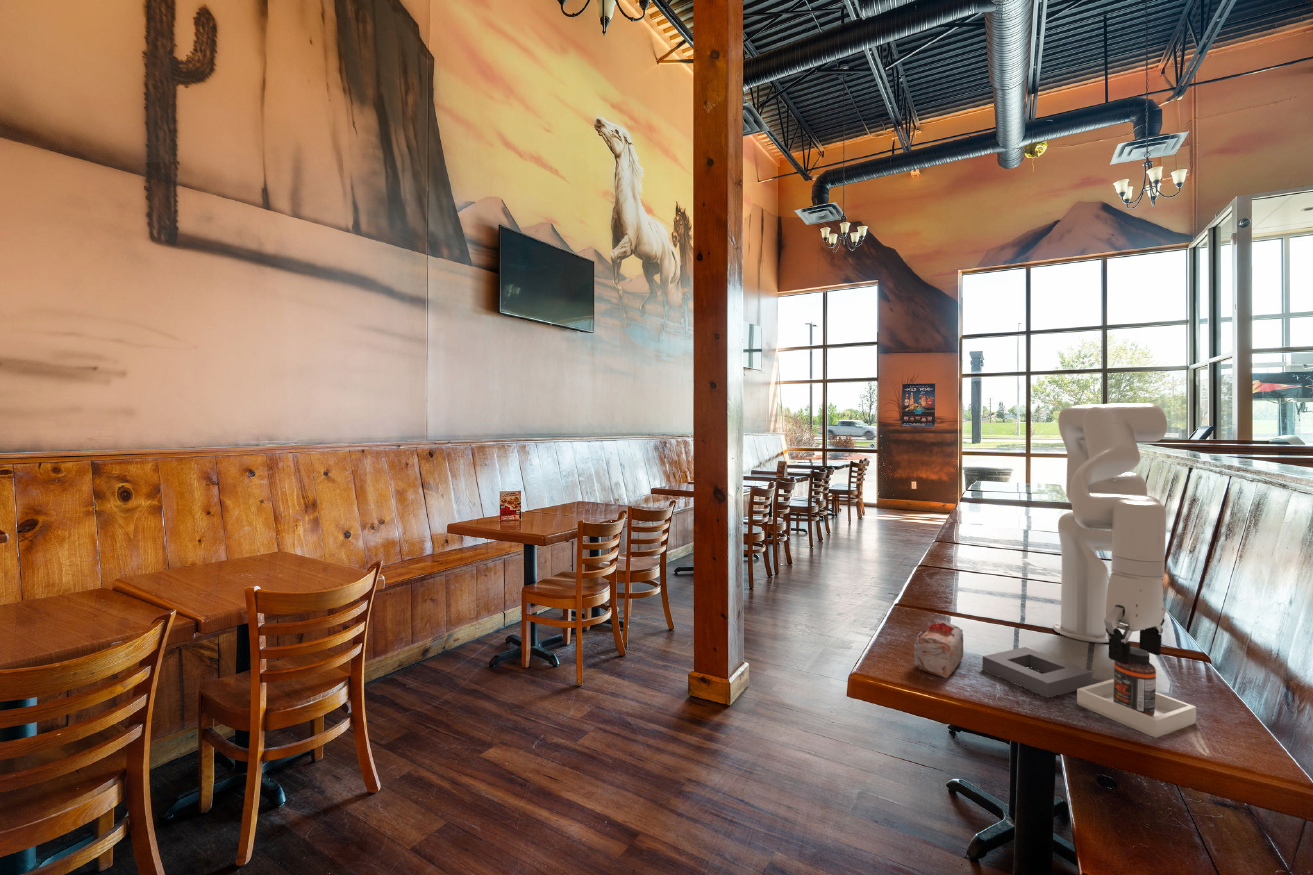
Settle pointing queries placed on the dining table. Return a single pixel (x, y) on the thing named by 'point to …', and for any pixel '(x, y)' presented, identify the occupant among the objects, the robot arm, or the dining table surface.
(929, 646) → the food item
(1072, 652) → the dining table surface
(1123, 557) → the robot arm
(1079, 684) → the frame
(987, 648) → the dining table surface
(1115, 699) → the supplement bottle
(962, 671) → the dining table surface
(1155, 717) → the tray
